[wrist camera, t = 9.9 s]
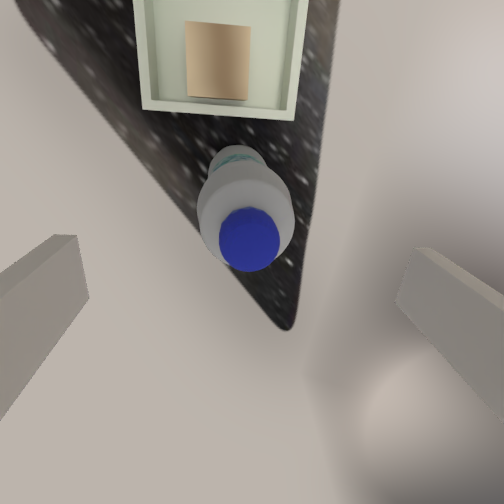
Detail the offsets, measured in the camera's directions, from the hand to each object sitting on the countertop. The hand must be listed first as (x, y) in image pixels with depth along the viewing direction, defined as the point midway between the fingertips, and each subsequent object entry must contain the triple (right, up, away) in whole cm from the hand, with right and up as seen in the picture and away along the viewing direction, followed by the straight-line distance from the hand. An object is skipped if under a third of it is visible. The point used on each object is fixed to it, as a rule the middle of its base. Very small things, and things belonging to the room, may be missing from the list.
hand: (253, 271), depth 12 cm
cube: (-3, +18, +16) cm, 24 cm away
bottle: (-2, +10, +21) cm, 23 cm away
